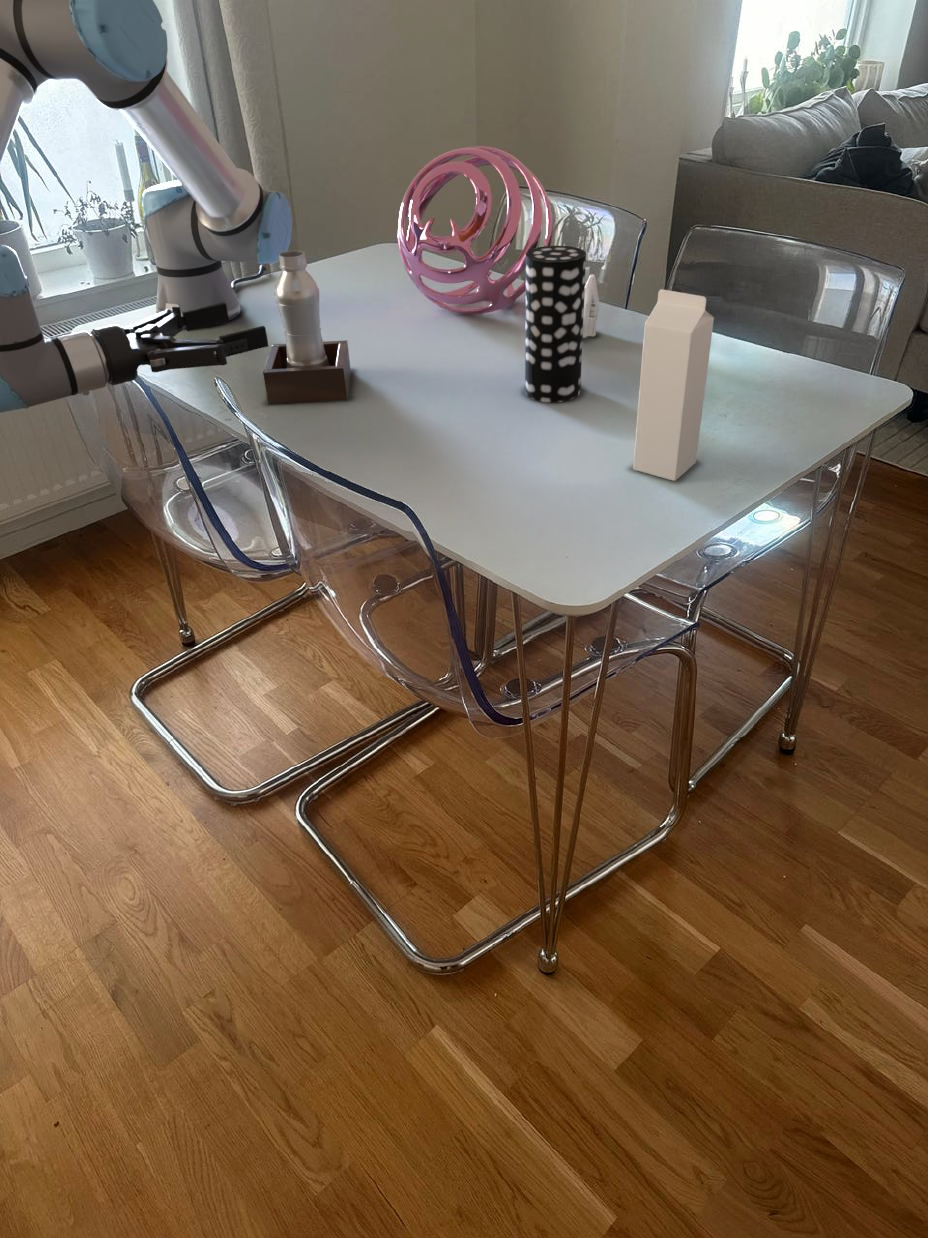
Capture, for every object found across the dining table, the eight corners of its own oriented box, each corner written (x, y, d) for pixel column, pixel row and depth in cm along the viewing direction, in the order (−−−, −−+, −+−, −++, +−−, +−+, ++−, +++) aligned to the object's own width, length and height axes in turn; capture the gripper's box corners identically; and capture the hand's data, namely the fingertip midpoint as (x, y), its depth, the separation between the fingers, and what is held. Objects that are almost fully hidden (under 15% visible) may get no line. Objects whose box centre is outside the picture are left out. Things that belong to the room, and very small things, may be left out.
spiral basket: (478, 165, 179) (417, 92, 154) (599, 217, 170) (555, 149, 145) (412, 299, 185) (344, 249, 160) (526, 356, 176) (472, 314, 151)
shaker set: (556, 353, 151) (558, 284, 145) (538, 347, 154) (539, 279, 147) (604, 334, 158) (607, 267, 151) (585, 328, 160) (588, 263, 153)
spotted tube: (585, 383, 141) (592, 247, 129) (573, 405, 134) (578, 263, 122) (533, 378, 143) (534, 244, 131) (518, 399, 137) (518, 260, 125)
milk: (654, 452, 121) (670, 281, 108) (696, 463, 118) (718, 289, 105) (632, 470, 118) (646, 295, 105) (675, 482, 114) (695, 303, 101)
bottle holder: (276, 374, 148) (271, 344, 145) (350, 370, 148) (347, 340, 145) (268, 404, 138) (262, 372, 136) (347, 400, 139) (343, 368, 136)
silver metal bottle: (324, 396, 140) (306, 260, 128) (283, 394, 141) (261, 259, 130) (337, 379, 145) (321, 247, 133) (297, 377, 147) (277, 247, 135)
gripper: (79, 359, 134) (216, 327, 143) (137, 414, 117) (287, 373, 126) (64, 307, 129) (207, 277, 139) (121, 357, 112) (279, 319, 122)
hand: (245, 323), depth 132 cm, fingers open, 13 cm apart
